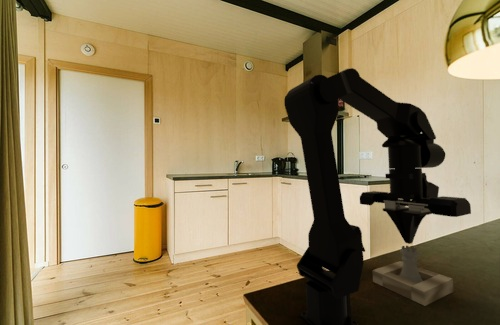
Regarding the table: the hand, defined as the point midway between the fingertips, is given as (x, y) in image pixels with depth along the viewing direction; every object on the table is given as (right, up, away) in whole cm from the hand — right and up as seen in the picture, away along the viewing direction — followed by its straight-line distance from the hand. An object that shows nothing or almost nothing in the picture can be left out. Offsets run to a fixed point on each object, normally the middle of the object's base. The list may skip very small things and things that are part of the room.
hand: (408, 243), depth 47 cm
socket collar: (0, -9, 0) cm, 9 cm away
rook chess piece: (0, -9, 0) cm, 9 cm away
